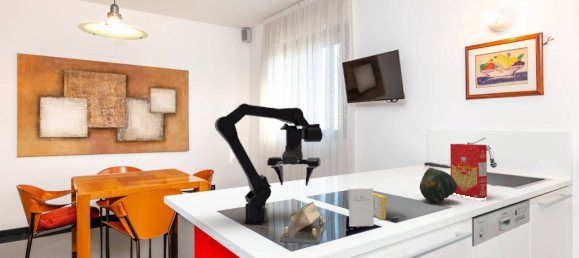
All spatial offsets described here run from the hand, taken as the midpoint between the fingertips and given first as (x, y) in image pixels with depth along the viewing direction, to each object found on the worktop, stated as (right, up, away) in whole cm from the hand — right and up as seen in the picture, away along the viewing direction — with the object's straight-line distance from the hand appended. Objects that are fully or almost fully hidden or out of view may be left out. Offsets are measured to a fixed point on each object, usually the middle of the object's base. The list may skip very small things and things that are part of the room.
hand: (294, 185), depth 118 cm
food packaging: (+82, -12, +34) cm, 90 cm away
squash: (+63, -12, +24) cm, 69 cm away
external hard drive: (+22, -12, -9) cm, 27 cm away
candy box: (+30, -12, +5) cm, 33 cm away
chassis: (+3, -12, -17) cm, 21 cm away
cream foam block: (+5, -9, -14) cm, 18 cm away
